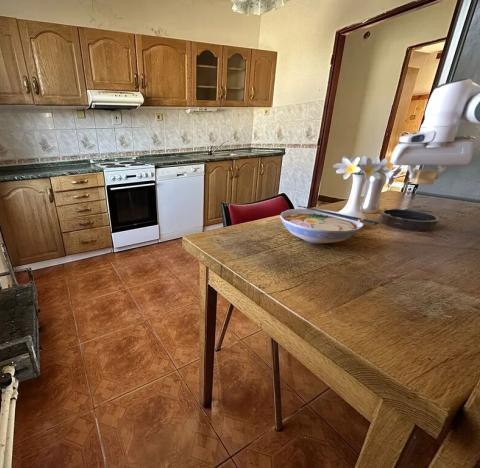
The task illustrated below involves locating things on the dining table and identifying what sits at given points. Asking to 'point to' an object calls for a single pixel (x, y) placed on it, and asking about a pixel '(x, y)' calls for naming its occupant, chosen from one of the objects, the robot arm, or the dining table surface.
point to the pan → (409, 219)
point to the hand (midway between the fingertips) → (422, 178)
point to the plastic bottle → (372, 194)
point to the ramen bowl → (321, 224)
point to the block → (424, 176)
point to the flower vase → (362, 179)
